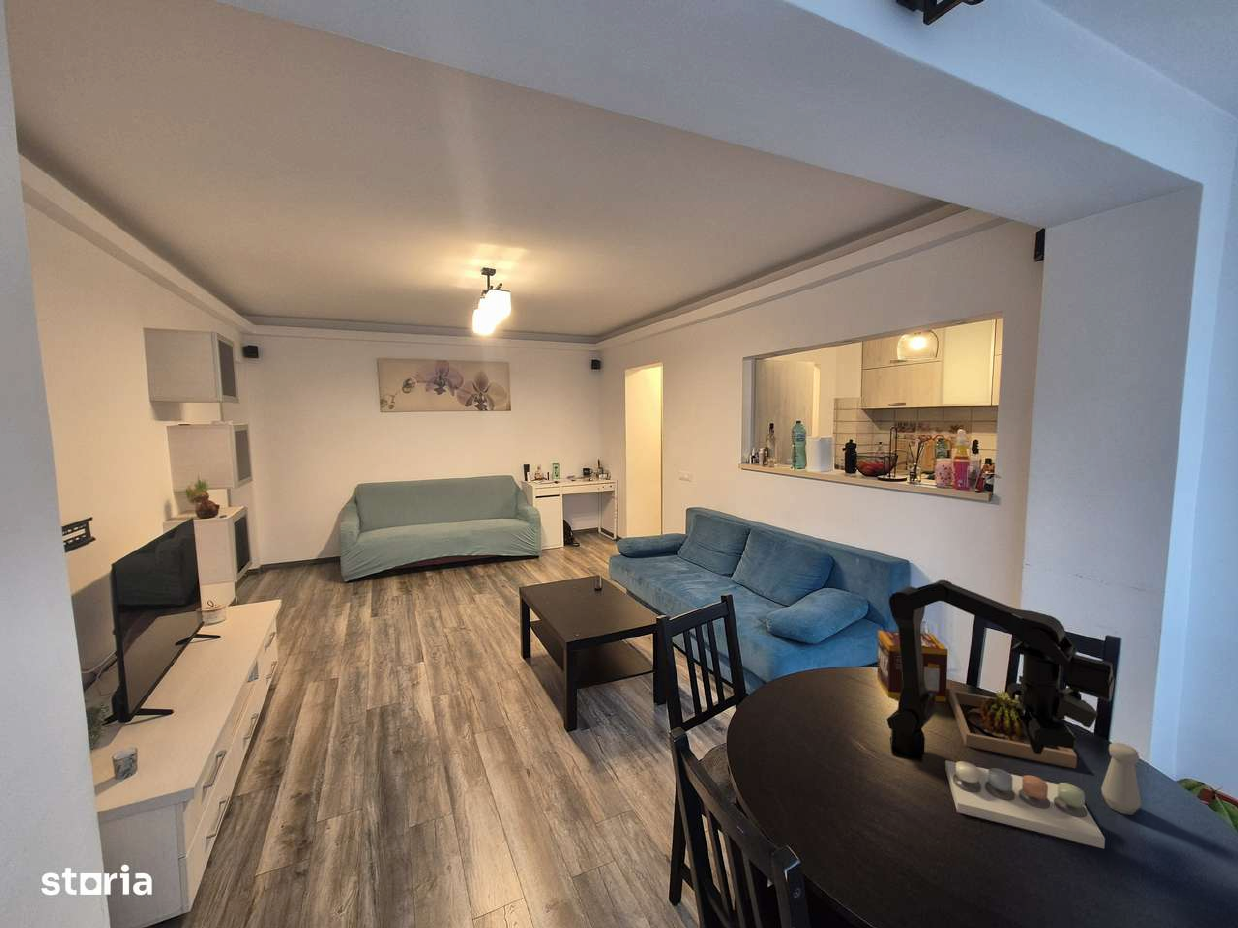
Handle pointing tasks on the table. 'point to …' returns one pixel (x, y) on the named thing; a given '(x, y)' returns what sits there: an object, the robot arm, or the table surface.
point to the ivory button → (967, 772)
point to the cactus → (1000, 718)
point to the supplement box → (892, 669)
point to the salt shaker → (1122, 780)
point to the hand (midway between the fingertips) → (1036, 752)
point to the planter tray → (999, 745)
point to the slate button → (1000, 779)
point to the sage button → (1071, 795)
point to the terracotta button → (1035, 787)
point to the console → (1023, 808)
